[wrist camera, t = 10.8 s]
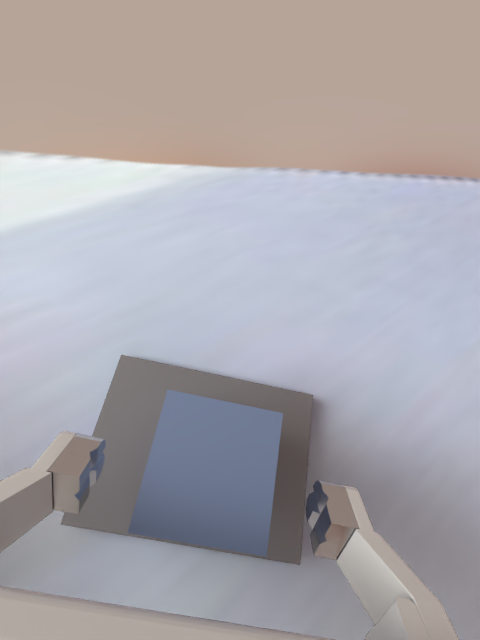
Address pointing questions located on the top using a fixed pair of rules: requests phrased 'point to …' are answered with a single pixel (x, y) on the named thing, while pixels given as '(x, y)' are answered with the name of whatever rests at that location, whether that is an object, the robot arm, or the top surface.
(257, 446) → the blue rectangular block
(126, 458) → the marker stand
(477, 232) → the top surface
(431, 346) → the top surface
